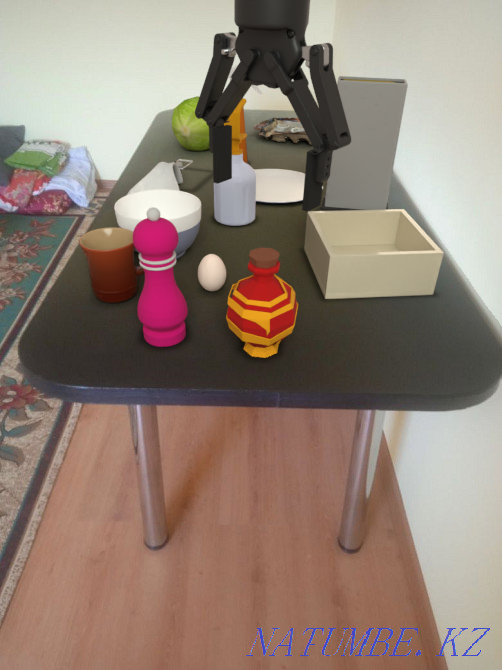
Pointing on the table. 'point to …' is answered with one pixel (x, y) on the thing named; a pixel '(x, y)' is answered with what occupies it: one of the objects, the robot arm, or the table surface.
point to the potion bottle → (262, 305)
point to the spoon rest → (160, 178)
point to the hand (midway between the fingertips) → (264, 193)
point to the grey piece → (282, 129)
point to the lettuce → (190, 126)
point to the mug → (111, 263)
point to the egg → (211, 272)
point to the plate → (279, 186)
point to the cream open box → (371, 254)
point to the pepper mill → (159, 281)
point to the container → (366, 144)
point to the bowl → (162, 213)
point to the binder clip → (182, 164)
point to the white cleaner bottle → (236, 182)
